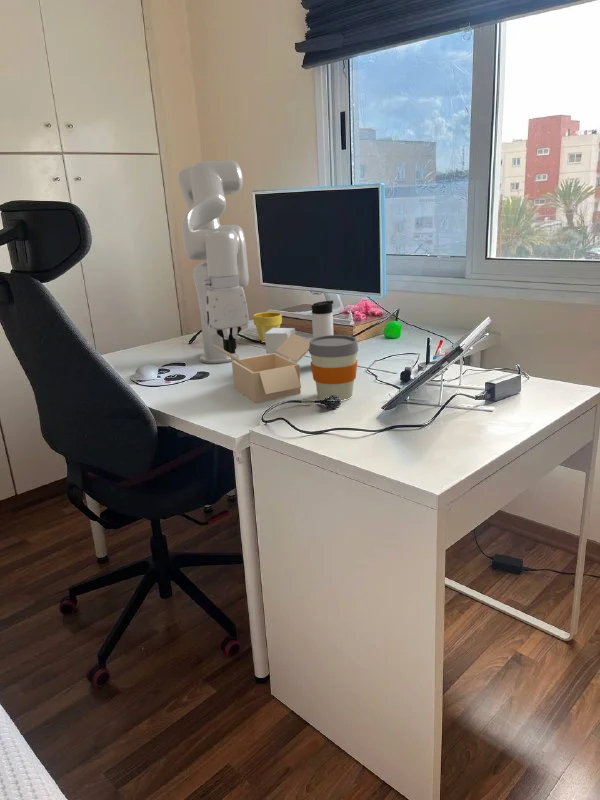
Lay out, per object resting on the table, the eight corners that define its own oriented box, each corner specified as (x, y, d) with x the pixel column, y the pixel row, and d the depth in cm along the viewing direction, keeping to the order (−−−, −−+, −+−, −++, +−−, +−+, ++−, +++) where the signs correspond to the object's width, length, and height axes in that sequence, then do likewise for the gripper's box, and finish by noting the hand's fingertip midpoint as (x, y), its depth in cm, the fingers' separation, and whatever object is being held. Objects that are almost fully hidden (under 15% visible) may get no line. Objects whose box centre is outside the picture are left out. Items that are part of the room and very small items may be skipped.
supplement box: (298, 368, 185) (295, 327, 181) (290, 375, 179) (287, 333, 175) (275, 367, 188) (273, 327, 184) (266, 374, 181) (263, 332, 177)
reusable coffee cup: (324, 407, 150) (321, 349, 146) (303, 393, 161) (300, 339, 157) (368, 398, 155) (367, 341, 150) (345, 386, 166) (343, 332, 161)
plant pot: (287, 338, 225) (285, 311, 221) (276, 344, 215) (274, 317, 212) (262, 337, 228) (260, 311, 225) (250, 343, 219) (248, 317, 216)
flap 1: (231, 354, 151) (230, 355, 151) (252, 369, 154) (251, 370, 154) (213, 343, 162) (212, 345, 162) (233, 357, 166) (232, 359, 166)
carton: (229, 384, 173) (226, 357, 170) (271, 376, 178) (269, 350, 175) (261, 407, 153) (258, 376, 150) (307, 397, 159) (305, 367, 156)
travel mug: (334, 368, 183) (331, 302, 176) (312, 368, 184) (309, 303, 177) (337, 363, 188) (334, 299, 182) (316, 363, 190) (313, 299, 183)
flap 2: (292, 333, 172) (293, 334, 172) (275, 350, 171) (276, 351, 171) (315, 342, 161) (315, 343, 161) (296, 360, 160) (297, 361, 160)
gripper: (200, 287, 145) (208, 361, 152) (257, 280, 152) (262, 351, 158) (190, 284, 152) (198, 354, 158) (245, 277, 158) (250, 345, 164)
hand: (230, 352), depth 158 cm, fingers closed
